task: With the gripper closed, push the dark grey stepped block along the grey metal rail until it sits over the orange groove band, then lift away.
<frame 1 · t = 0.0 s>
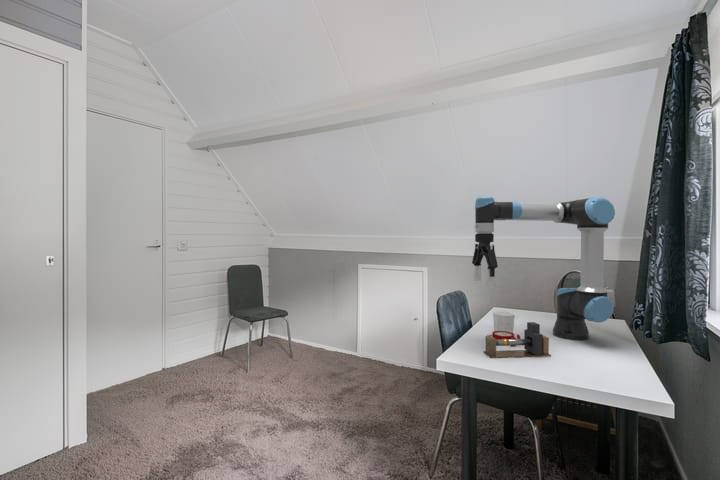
hand: (484, 282, 159), 28 cm above the table, fingers open, 13 cm apart
dark grey stepped block: (533, 337, 151), point 7 cm above the table, slide at 0.0 cm
alarm clock: (506, 343, 166), on the table
rail: (516, 354, 150), on the table
cup: (503, 333, 182), on the table
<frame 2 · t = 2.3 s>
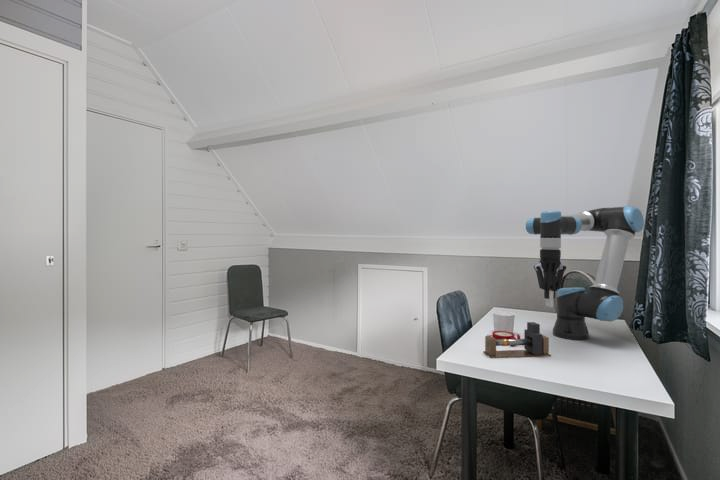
hand: (549, 306, 151), 19 cm above the table, fingers closed
nothing on the table moved.
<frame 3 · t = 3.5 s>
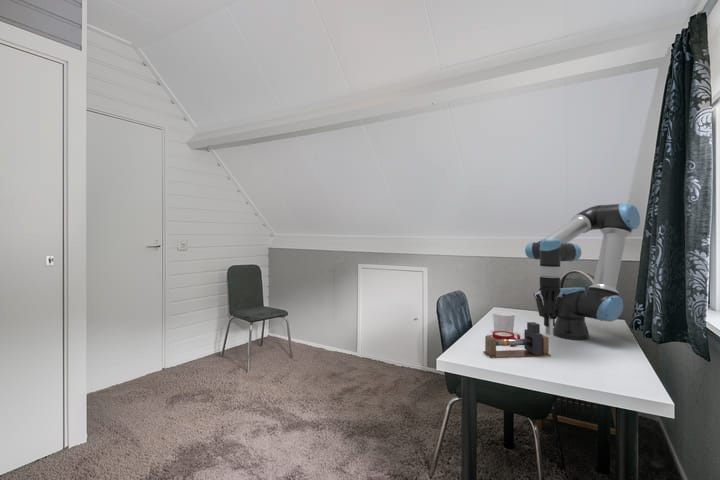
hand: (549, 334, 151), 8 cm above the table, fingers closed
nothing on the table moved.
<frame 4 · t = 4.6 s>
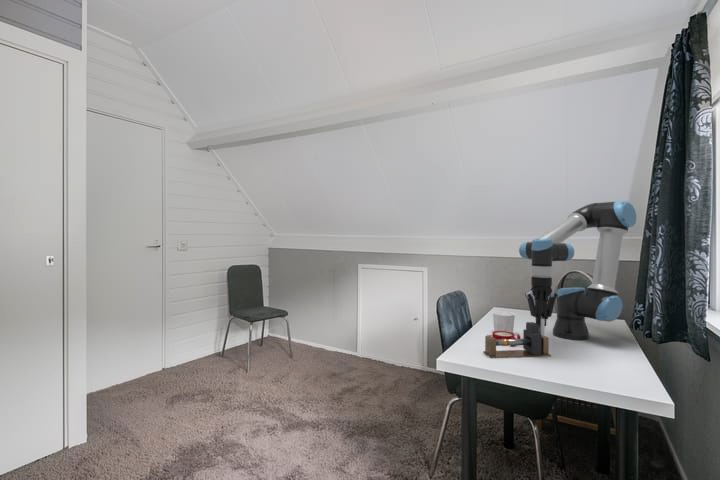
hand: (540, 334, 151), 8 cm above the table, fingers closed
dark grey stepped block: (532, 337, 151), point 7 cm above the table, slide at 0.5 cm, touching gripper
everything else where it was.
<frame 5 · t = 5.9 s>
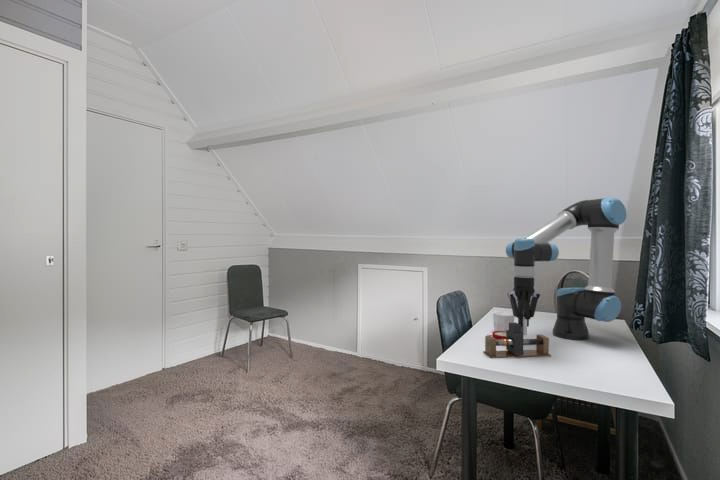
hand: (523, 334, 150), 8 cm above the table, fingers closed
dark grey stepped block: (514, 337, 150), point 7 cm above the table, slide at 7.9 cm, touching gripper
everything else where it was.
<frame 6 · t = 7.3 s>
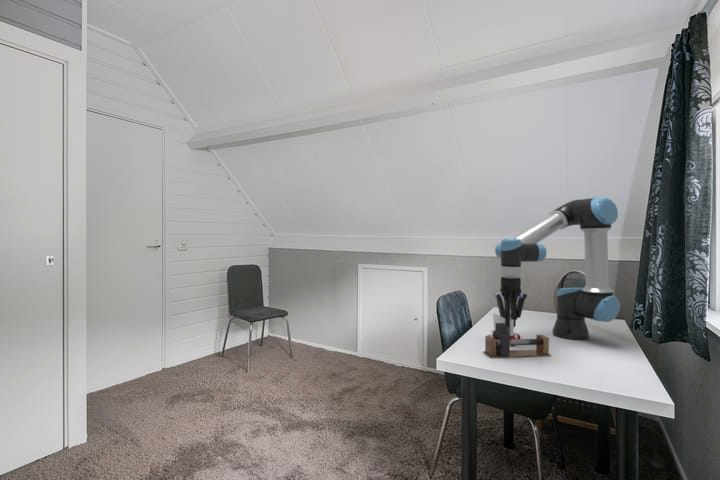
hand: (510, 334, 150), 8 cm above the table, fingers closed
dark grey stepped block: (501, 338, 149), point 7 cm above the table, slide at 13.5 cm, touching gripper
everything else where it was.
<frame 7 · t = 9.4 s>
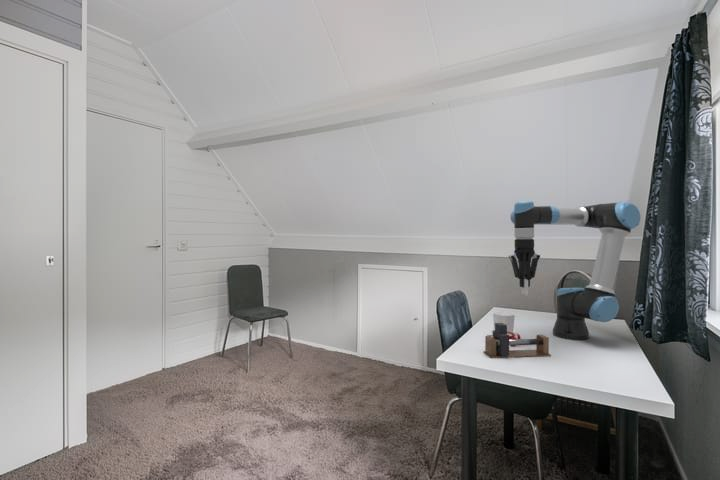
hand: (524, 294, 155), 23 cm above the table, fingers closed
dark grey stepped block: (500, 338, 149), point 7 cm above the table, slide at 13.7 cm
everything else where it was.
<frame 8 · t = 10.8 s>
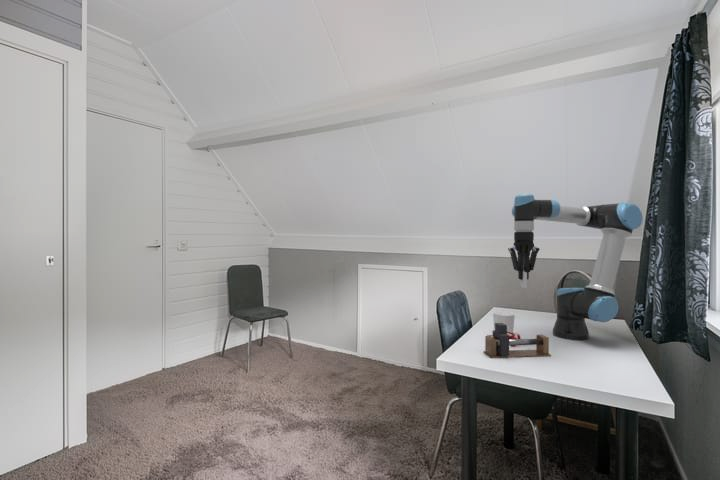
hand: (523, 287, 156), 26 cm above the table, fingers closed
nothing on the table moved.
at the end: dark grey stepped block slide at 13.7 cm; the gripper is holding nothing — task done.
